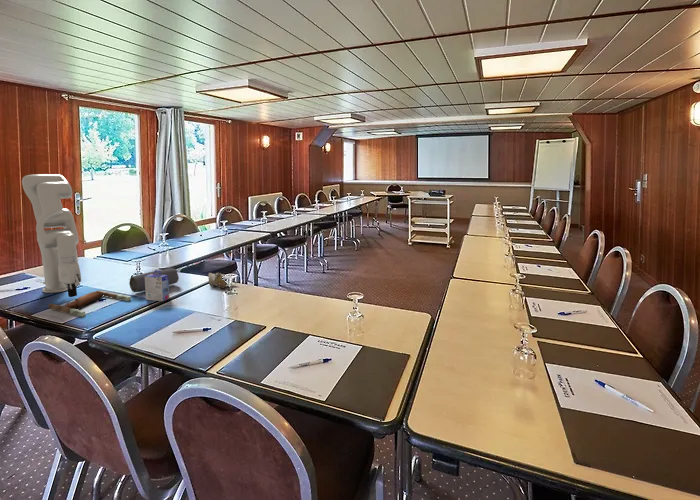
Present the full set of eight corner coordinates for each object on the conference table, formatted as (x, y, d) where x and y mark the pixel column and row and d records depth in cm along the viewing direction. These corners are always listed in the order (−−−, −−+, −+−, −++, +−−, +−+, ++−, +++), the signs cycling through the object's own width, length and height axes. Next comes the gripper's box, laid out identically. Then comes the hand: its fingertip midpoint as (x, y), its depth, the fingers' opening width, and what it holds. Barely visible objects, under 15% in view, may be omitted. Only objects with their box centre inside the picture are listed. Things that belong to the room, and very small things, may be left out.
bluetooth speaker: (170, 283, 233) (169, 266, 231) (179, 286, 228) (178, 268, 226) (129, 292, 215) (127, 274, 213) (138, 296, 210) (137, 277, 208)
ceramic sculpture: (214, 267, 234) (237, 271, 230) (214, 282, 236) (237, 286, 232) (202, 272, 225) (226, 276, 220) (202, 287, 227) (226, 292, 222)
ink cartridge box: (170, 298, 208) (168, 270, 205) (163, 301, 202) (161, 273, 199) (153, 296, 210) (150, 269, 207) (145, 300, 204) (143, 271, 201)
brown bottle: (86, 296, 207) (92, 285, 206) (99, 303, 208) (104, 293, 206) (60, 309, 189) (66, 297, 188) (74, 317, 190) (80, 305, 189)
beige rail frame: (48, 308, 190) (48, 304, 189) (98, 293, 212) (98, 290, 212) (82, 316, 181) (81, 312, 181) (131, 300, 203) (130, 296, 203)
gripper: (50, 259, 197) (54, 296, 200) (70, 262, 191) (75, 300, 195) (66, 256, 203) (70, 292, 207) (86, 259, 198) (90, 296, 201)
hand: (72, 296), depth 201 cm, fingers closed
